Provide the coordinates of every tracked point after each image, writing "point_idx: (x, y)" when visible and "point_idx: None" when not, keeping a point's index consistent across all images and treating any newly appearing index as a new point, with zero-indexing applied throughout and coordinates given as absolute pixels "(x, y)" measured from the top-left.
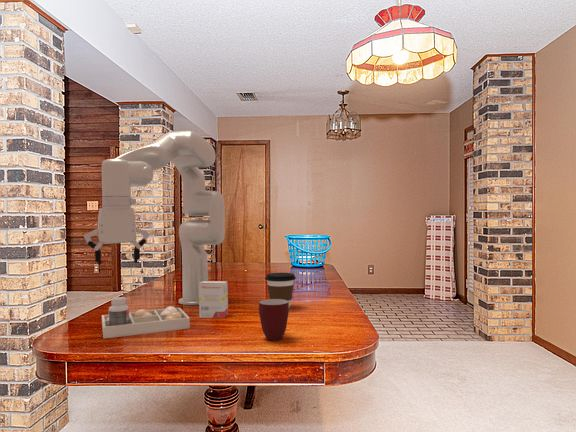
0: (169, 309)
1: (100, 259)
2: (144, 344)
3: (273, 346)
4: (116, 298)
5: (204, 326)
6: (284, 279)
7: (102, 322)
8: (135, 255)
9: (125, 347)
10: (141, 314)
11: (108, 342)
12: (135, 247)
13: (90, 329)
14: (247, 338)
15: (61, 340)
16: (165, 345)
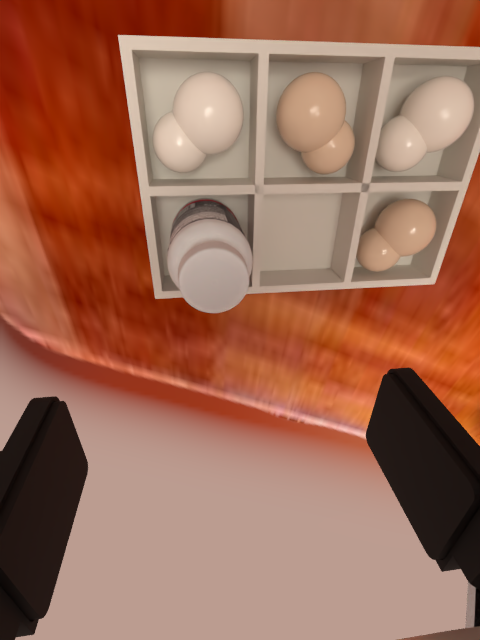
0: (435, 141)
1: (71, 512)
2: (264, 351)
3: (468, 432)
4: (203, 283)
5: (466, 241)
6: None
7: (141, 197)
8: (402, 495)
9: (219, 358)
10: (307, 148)
11: (175, 302)
12: (468, 575)
13: (79, 70)
14: (470, 381)
15: (7, 217)
16: (306, 372)
